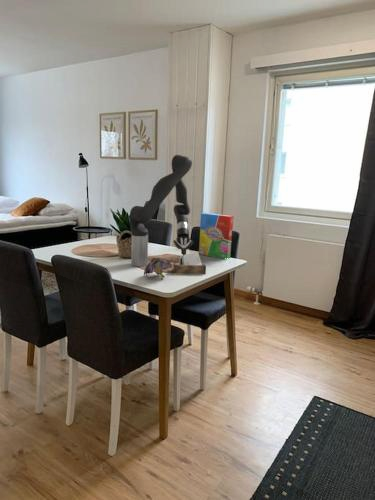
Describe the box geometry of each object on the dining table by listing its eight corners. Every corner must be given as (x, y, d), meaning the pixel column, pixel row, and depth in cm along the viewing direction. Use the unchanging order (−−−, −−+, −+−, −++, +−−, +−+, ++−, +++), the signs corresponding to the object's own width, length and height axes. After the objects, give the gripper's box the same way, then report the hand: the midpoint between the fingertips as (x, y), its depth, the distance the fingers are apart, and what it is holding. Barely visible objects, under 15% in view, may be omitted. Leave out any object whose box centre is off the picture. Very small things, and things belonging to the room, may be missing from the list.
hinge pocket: (174, 273, 197) (174, 265, 196) (173, 269, 204) (173, 261, 203) (205, 273, 199) (206, 265, 198) (203, 270, 206) (204, 262, 205)
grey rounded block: (187, 272, 199) (183, 254, 199) (180, 274, 202) (176, 256, 202) (204, 267, 212) (200, 250, 212) (197, 268, 215) (193, 251, 215)
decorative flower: (164, 254, 196) (169, 252, 182) (171, 275, 196) (177, 275, 182) (138, 263, 193) (141, 261, 178) (145, 284, 193) (149, 284, 178)
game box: (198, 254, 243) (200, 213, 237) (202, 252, 248) (204, 212, 242) (227, 259, 233) (230, 216, 227) (230, 257, 238) (233, 215, 232)
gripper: (172, 227, 227) (173, 251, 218) (194, 227, 228) (195, 251, 219) (171, 233, 233) (172, 257, 224) (192, 234, 234) (194, 257, 225)
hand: (183, 254), depth 221 cm, fingers closed
